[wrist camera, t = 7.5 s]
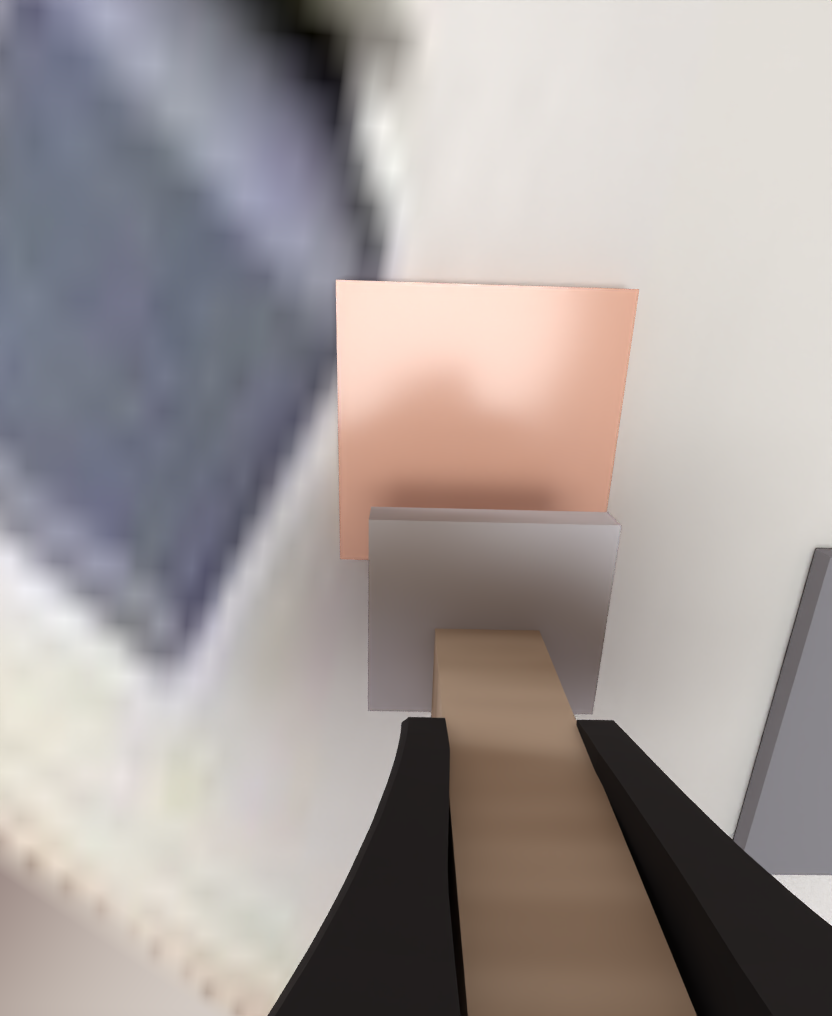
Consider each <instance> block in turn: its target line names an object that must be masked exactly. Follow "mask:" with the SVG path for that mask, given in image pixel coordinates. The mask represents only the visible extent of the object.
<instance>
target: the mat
mask: <svg viewBox="0 0 832 1016" xmlns="http://www.w3.org/2000/svg"><path fill="white" fill-rule="evenodd" d="M733 841H734V842H735V843H736V844H737V845H738V846H740V847H741V848H742V849H743V850H744V851H745V852H746V853H747V854H748V855H749V856H751V857H752V858H753V859H754V860H755V861H756V862H757V863H758V864H760V865H761V866H762V867H763V868H764V869H765V870H766V871H767V872H768V873H770V874H771V875H832V549H817V548H816V551H815V554H814V558H813V561H812V565H811V568H810V572H809V575H808V579H807V582H806V586H805V589H804V593H803V596H802V600H801V604H800V607H799V611H798V614H797V618H796V621H795V625H794V628H793V632H792V635H791V639H790V642H789V646H788V649H787V653H786V656H785V660H784V663H783V667H782V671H781V674H780V678H779V681H778V685H777V688H776V692H775V695H774V699H773V702H772V706H771V709H770V713H769V716H768V720H767V723H766V727H765V730H764V734H763V738H762V741H761V745H760V748H759V752H758V755H757V759H756V762H755V766H754V769H753V773H752V776H751V780H750V783H749V787H748V790H747V794H746V797H745V801H744V805H743V808H742V812H741V815H740V819H739V822H738V826H737V829H736V833H735V836H734V840H733Z"/></svg>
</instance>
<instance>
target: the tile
mask: <svg viewBox="0 0 832 1016" xmlns="http://www.w3.org/2000/svg"><path fill="white" fill-rule="evenodd" d="M638 294H639V289H612V288H580V287H548V286H516V285H484V284H452V283H420V282H388V281H356V280H336V317H337V380H338V443H339V506H340V559H355V560H369V516H370V510H371V507H409V508H452V509H494V510H537V511H579V512H607V505H608V499H609V492H610V485H611V478H612V471H613V464H614V458H615V451H616V444H617V437H618V430H619V423H620V417H621V410H622V403H623V396H624V389H625V382H626V376H627V369H628V362H629V355H630V348H631V341H632V335H633V328H634V321H635V314H636V307H637V301H638Z"/></svg>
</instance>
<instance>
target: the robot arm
mask: <svg viewBox="0 0 832 1016" xmlns="http://www.w3.org/2000/svg"><path fill="white" fill-rule="evenodd" d="M576 726H577V728H578V730H579V733H580V735H581V738H582V740H583V743H584V745H585V748H586V750H587V753H588V755H589V758H590V760H591V763H592V765H593V768H594V770H595V772H596V774H597V776H598V778H599V780H600V782H601V784H602V786H603V788H604V790H605V792H606V795H607V797H608V800H609V802H610V805H611V807H612V809H613V812H614V814H615V817H616V819H617V822H618V824H619V827H620V829H621V831H622V834H623V836H624V839H625V841H626V844H627V846H628V849H629V851H630V853H631V856H632V858H633V861H634V863H635V866H636V868H637V871H638V873H639V875H640V878H641V880H642V883H643V885H644V888H645V890H646V893H647V895H648V897H649V900H650V902H651V905H652V907H653V910H654V912H655V915H656V917H657V919H658V922H659V924H660V927H661V929H662V932H663V934H664V937H665V939H666V941H667V944H668V946H669V949H670V951H671V954H672V956H673V959H674V961H675V963H676V966H677V968H678V971H679V973H680V976H681V978H682V981H683V983H684V985H685V988H686V990H687V993H688V995H689V998H690V1000H691V1003H692V1005H693V1007H694V1010H695V1012H696V1015H697V1016H832V926H831V925H830V924H829V923H827V922H826V921H825V920H824V919H822V918H821V917H820V916H819V915H817V914H816V913H815V912H814V911H812V910H811V909H810V908H809V907H808V906H806V905H805V904H804V903H803V902H802V901H801V900H799V899H798V898H797V897H796V896H795V895H793V894H792V893H791V892H790V891H789V890H788V889H786V888H785V887H784V886H783V885H782V884H781V883H780V882H779V881H777V880H776V879H775V878H774V877H773V876H772V875H771V874H770V873H768V872H767V871H766V870H765V869H764V868H763V867H762V866H761V865H760V864H758V863H757V862H756V861H755V860H754V859H753V858H752V857H751V856H749V855H748V854H747V853H746V852H745V851H744V850H743V849H742V848H741V847H740V846H738V845H737V844H736V843H735V842H734V841H733V840H732V839H731V838H730V837H729V836H728V835H727V834H726V833H725V832H723V831H722V830H721V829H720V828H719V827H718V826H717V825H716V824H715V823H714V822H713V821H712V820H711V819H710V818H709V817H708V816H707V815H706V814H705V813H704V812H703V811H702V810H701V809H700V808H699V807H698V806H697V805H696V804H695V803H694V802H693V801H692V800H690V799H689V798H688V797H687V796H686V794H685V793H684V792H683V791H682V790H681V789H680V788H679V787H678V786H677V785H676V784H675V783H674V782H673V781H672V780H671V779H670V778H669V777H668V776H667V775H666V774H665V773H664V772H663V771H662V770H661V769H660V768H659V767H658V766H657V765H656V764H655V763H654V762H653V761H652V760H651V759H650V758H649V757H648V756H647V755H646V754H645V753H644V752H643V750H642V749H641V748H640V747H639V746H638V745H637V744H636V743H635V742H634V741H633V740H632V739H631V738H630V737H629V736H628V735H627V734H626V733H625V732H624V731H623V730H622V729H621V728H620V727H619V726H618V725H617V724H616V723H615V722H614V721H613V720H577V723H576ZM449 780H450V745H449V738H448V732H447V726H446V720H445V718H426V717H408V718H407V719H406V720H405V721H403V722H402V724H401V735H400V740H399V745H398V749H397V753H396V757H395V760H394V764H393V767H392V770H391V773H390V776H389V779H388V782H387V785H386V788H385V790H384V793H383V796H382V798H381V801H380V803H379V806H378V809H377V811H376V814H375V816H374V819H373V821H372V824H371V826H370V829H369V831H368V833H367V835H366V837H365V840H364V842H363V844H362V846H361V848H360V850H359V853H358V855H357V857H356V859H355V861H354V863H353V866H352V868H351V870H350V872H349V874H348V876H347V878H346V880H345V882H344V884H343V886H342V888H341V890H340V892H339V894H338V896H337V898H336V900H335V902H334V904H333V905H332V907H331V909H330V911H329V913H328V915H327V917H326V918H325V920H324V922H323V924H322V926H321V927H320V929H319V931H318V933H317V935H316V936H315V938H314V940H313V942H312V944H311V945H310V947H309V949H308V951H307V952H306V954H305V956H304V957H303V959H302V960H301V962H300V964H299V965H298V967H297V969H296V970H295V972H294V974H293V975H292V977H291V979H290V980H289V982H288V984H287V985H286V987H285V989H284V990H283V992H282V994H281V995H280V997H279V999H278V1000H277V1002H276V1003H275V1005H274V1006H273V1008H272V1009H271V1011H270V1013H269V1014H268V1016H460V1006H459V996H458V986H457V977H456V967H455V957H454V946H453V935H452V925H451V914H450V903H449V892H448V824H449Z"/></svg>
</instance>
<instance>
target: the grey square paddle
mask: <svg viewBox="0 0 832 1016" xmlns="http://www.w3.org/2000/svg"><path fill="white" fill-rule="evenodd" d="M620 532H621V525H620V524H619V523H618V522H617V521H616V520H615V519H614V517H613V516H612V515H611V514H610V513H609V512H579V511H537V510H494V509H452V508H409V507H371V510H370V516H369V599H368V711H418V712H431V718H445V720H446V726H447V732H448V738H449V745H450V780H449V824H448V892H449V903H450V914H451V925H452V935H453V946H454V957H455V967H456V977H457V986H458V996H459V1006H460V1016H697V1015H696V1012H695V1010H694V1007H693V1005H692V1003H691V1000H690V998H689V995H688V993H687V990H686V988H685V985H684V983H683V981H682V978H681V976H680V973H679V971H678V968H677V966H676V963H675V961H674V959H673V956H672V954H671V951H670V949H669V946H668V944H667V941H666V939H665V937H664V934H663V932H662V929H661V927H660V924H659V922H658V919H657V917H656V915H655V912H654V910H653V907H652V905H651V902H650V900H649V897H648V895H647V893H646V890H645V888H644V885H643V883H642V880H641V878H640V875H639V873H638V871H637V868H636V866H635V863H634V861H633V858H632V856H631V853H630V851H629V849H628V846H627V844H626V841H625V839H624V836H623V834H622V831H621V829H620V827H619V824H618V822H617V819H616V817H615V814H614V812H613V809H612V807H611V805H610V802H609V800H608V797H607V795H606V792H605V790H604V788H603V786H602V784H601V782H600V780H599V778H598V776H597V774H596V772H595V770H594V768H593V765H592V763H591V760H590V758H589V755H588V753H587V750H586V748H585V745H584V743H583V740H582V738H581V735H580V733H579V730H578V728H577V726H576V723H577V721H576V719H575V717H574V714H593V708H594V701H595V695H596V688H597V682H598V675H599V669H600V662H601V655H602V649H603V642H604V636H605V629H606V623H607V616H608V610H609V603H610V597H611V590H612V584H613V577H614V571H615V564H616V558H617V551H618V545H619V538H620Z"/></svg>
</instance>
